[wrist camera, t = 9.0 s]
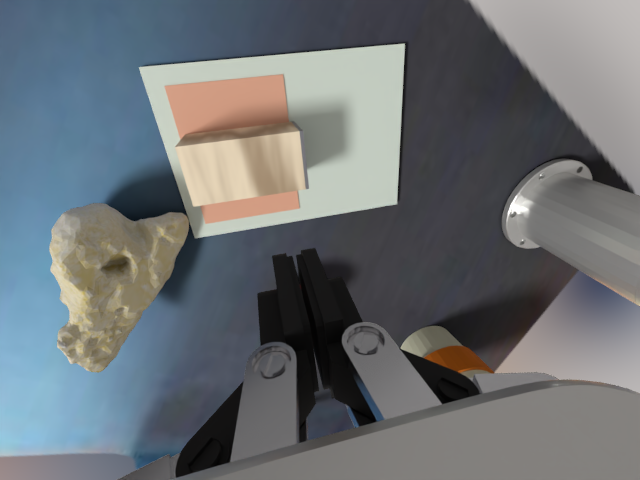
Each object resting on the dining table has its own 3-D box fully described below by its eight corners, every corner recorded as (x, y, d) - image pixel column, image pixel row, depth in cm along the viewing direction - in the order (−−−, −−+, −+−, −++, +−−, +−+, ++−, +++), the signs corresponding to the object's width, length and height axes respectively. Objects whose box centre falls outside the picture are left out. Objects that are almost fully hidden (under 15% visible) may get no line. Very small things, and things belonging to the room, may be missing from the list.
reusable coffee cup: (471, 317, 51) (549, 402, 38) (442, 370, 56) (501, 460, 43) (404, 316, 47) (465, 410, 34) (379, 373, 52) (424, 472, 40)
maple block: (303, 130, 25) (174, 147, 24) (309, 188, 28) (193, 206, 26) (294, 121, 30) (184, 134, 28) (299, 172, 32) (200, 187, 31)
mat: (402, 43, 29) (405, 43, 28) (395, 202, 37) (397, 204, 36) (140, 67, 25) (138, 67, 25) (195, 236, 34) (194, 238, 33)
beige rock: (128, 153, 30) (-71, 246, 22) (176, 180, 27) (-31, 300, 19) (178, 254, 41) (60, 341, 33) (216, 281, 39) (97, 384, 30)
